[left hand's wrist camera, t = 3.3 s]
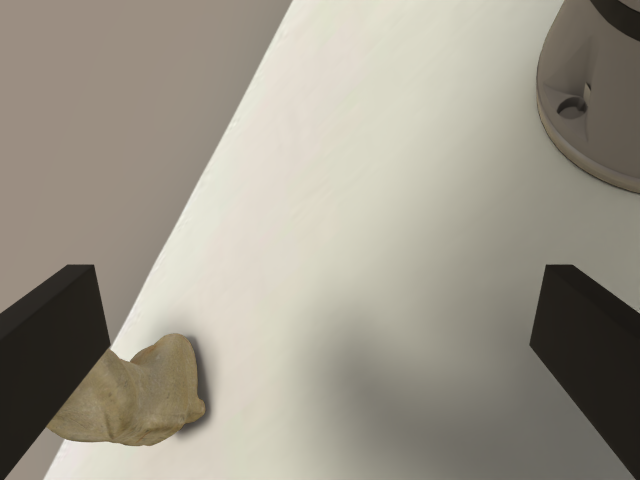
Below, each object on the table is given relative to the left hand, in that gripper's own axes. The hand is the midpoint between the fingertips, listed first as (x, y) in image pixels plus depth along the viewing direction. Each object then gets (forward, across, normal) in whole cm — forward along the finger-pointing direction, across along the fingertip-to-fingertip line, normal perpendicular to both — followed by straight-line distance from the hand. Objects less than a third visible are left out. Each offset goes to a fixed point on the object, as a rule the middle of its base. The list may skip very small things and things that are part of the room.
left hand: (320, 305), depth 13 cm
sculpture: (+15, -10, -15) cm, 24 cm away
